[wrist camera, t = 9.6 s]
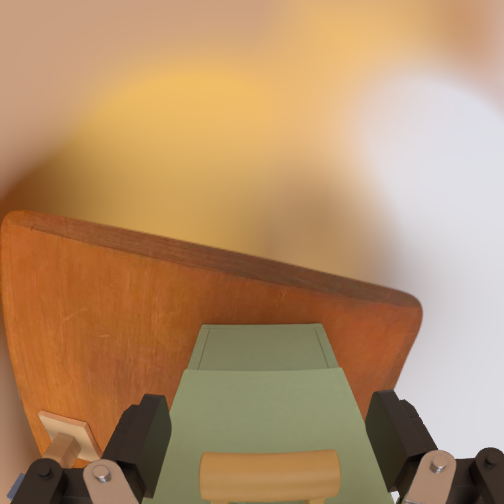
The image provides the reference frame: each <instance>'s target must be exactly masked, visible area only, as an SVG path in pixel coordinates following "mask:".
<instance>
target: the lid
mask: <svg viewBox="0 0 504 504" xmlns="http://www.w3.org/2000/svg"><path fill="white" fill-rule="evenodd" d="M169 415H170V419H171V424H172V433H171V438H170V441H169V445H168V448H167V452H166V455H165V458H164V462H163V465H162V469H161V472H160V476H159V479H158V483H157V486H156V490H155V494H154V497H153V499H151V498H145V497H144V498H143V501H142V504H394V501H393V498H392V495H391V492H390V493H388V491H387V488H386V486H385V483H384V480H383V477H382V474H381V471H380V468H379V466H378V463H377V460H376V457H375V455H374V452H373V449H372V446H371V444H370V441H369V438H368V436H367V433H366V427H365V423H364V421H363V418H362V416H361V413H360V411H359V408H358V406H357V403H356V401H355V398H354V396H353V393H352V391H351V388H350V386H349V383H348V381H347V379H346V376H345V374H344V371H343V369H342V368H329V369H313V370H292V371H208V370H186V369H185V370H184V372H183V375H182V378H181V381H180V384H179V387H178V389H177V392H176V395H175V398H174V401H173V404H172V407H171V410H170V412H169Z"/></svg>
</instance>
